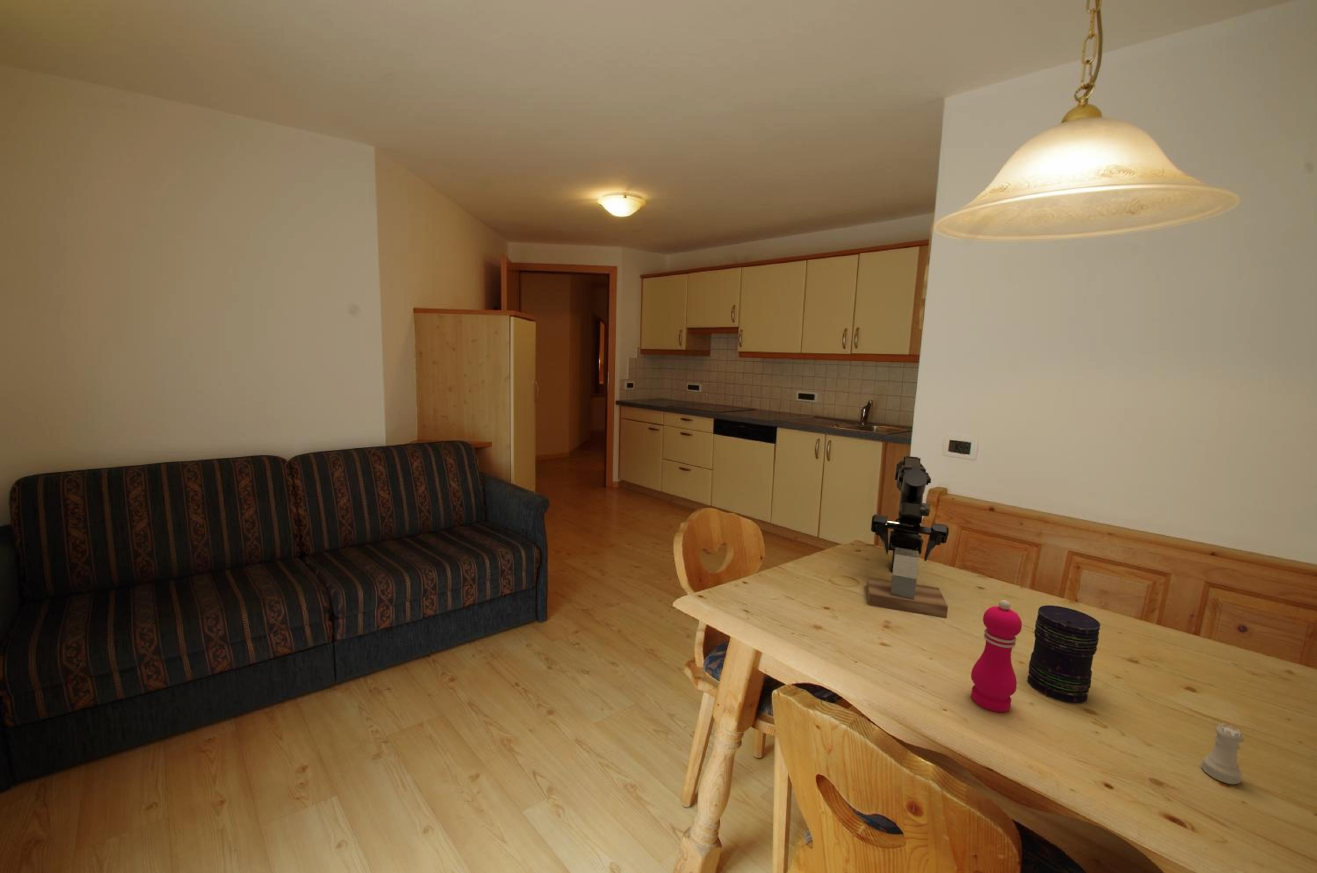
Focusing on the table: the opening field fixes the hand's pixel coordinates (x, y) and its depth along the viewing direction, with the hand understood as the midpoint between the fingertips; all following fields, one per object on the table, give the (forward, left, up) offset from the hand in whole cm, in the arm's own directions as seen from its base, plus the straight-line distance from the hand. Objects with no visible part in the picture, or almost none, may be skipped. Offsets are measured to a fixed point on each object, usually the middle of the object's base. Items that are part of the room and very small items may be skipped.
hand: (906, 556), depth 144 cm
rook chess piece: (+51, +41, -12) cm, 66 cm away
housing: (+4, 0, -9) cm, 9 cm away
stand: (+2, +1, -12) cm, 12 cm away
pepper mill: (+43, +11, -12) cm, 45 cm away
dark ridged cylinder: (+33, +25, -12) cm, 42 cm away
